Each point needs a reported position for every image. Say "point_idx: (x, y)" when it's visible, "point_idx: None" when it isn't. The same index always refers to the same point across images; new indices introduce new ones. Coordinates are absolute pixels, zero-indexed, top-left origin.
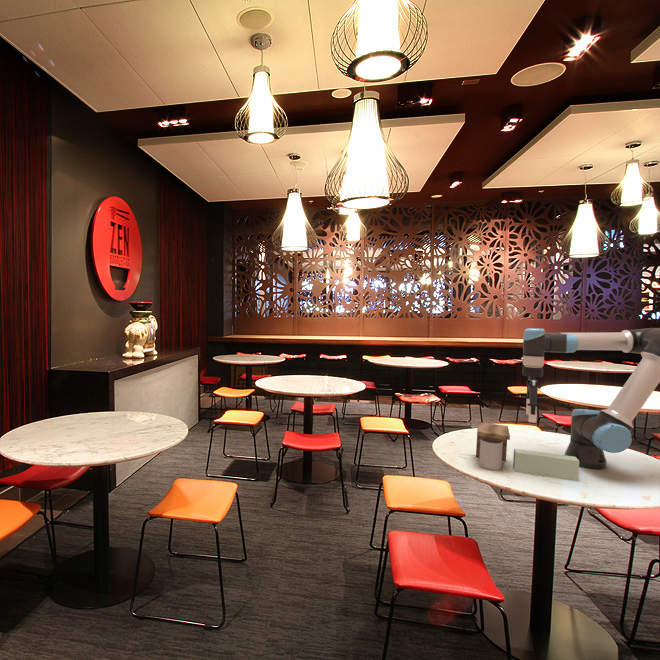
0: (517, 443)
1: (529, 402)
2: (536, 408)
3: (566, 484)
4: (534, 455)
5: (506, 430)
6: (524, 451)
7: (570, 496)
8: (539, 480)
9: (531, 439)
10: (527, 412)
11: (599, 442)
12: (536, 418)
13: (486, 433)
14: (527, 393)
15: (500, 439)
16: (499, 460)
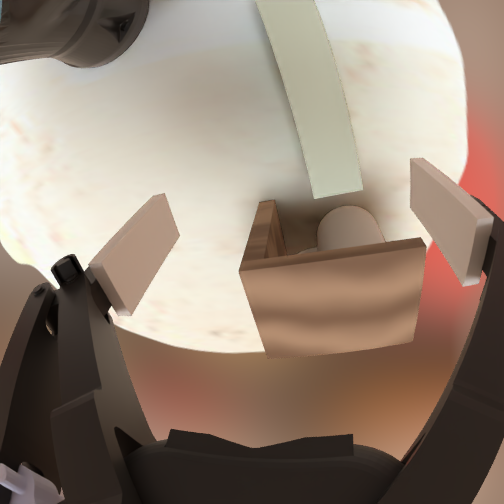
0: (81, 201)
1: (134, 275)
2: (480, 209)
3: (357, 27)
4: (350, 122)
5: (335, 268)
6: (328, 160)
7: (439, 34)
8: (379, 98)
9: (31, 180)
10: (172, 235)
11: None
12: (436, 169)
13: (416, 317)
14: (122, 363)
15: (272, 256)
16: (371, 222)
